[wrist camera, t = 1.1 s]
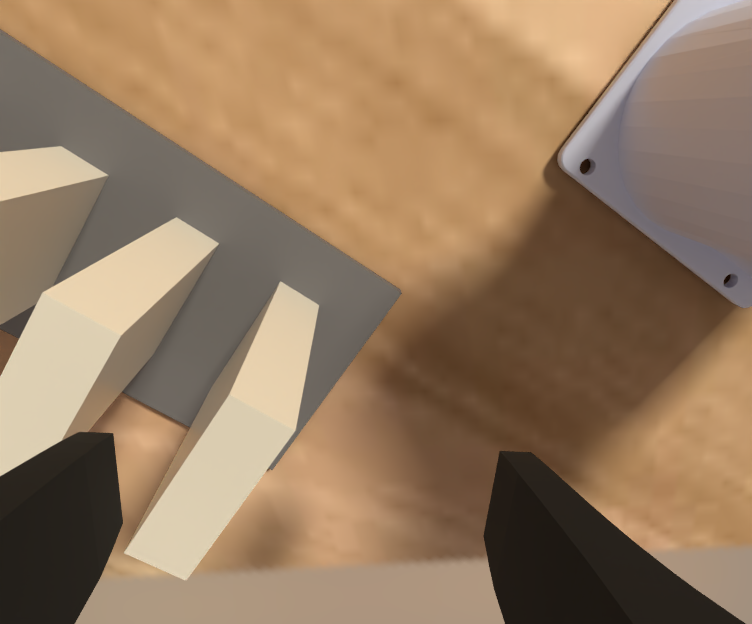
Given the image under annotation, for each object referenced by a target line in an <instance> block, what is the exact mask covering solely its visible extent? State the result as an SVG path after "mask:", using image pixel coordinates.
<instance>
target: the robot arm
mask: <svg viewBox="0 0 752 624" xmlns="http://www.w3.org/2000/svg"><path fill="white" fill-rule="evenodd" d="M585 159H588V160H589V161H590V165H591V167H590V169H589V171H588V172H586V173H585V174H582V173H581V172H580V165H581V163H582V162H583V161H584V160H585ZM557 161H558V165H559V167H560V168H561V169H562V170H563V171H564V172H565V173H567V174H568V175H569V176H571V177H572V178H573V179H574V180H576V181H577V182H578V183H579V184H581V185H582V186H583V187H585V188H586V189H587V190H588V191H590V192H591V193H592V194H594V195H595V196H596V197H597V198H599V199H600V200H601V201H602V202H604V203H605V204H606V205H608V206H609V207H610V208H611V209H613V210H614V211H615V212H617V213H618V214H619V215H620V216H622V217H623V218H624V219H626V220H627V221H628V222H629V223H631V224H632V225H633V226H634V227H636V228H637V229H638V230H640V231H641V232H642V233H643V234H645V235H646V236H647V237H649V238H650V239H651V240H652V241H654V242H655V243H656V244H658V245H659V246H660V247H661V248H663V249H664V250H665V251H666V252H668V253H669V254H670V255H672V256H673V257H674V258H675V259H677V260H678V261H679V262H681V263H682V264H683V265H684V266H686V267H687V268H688V269H689V270H691V271H692V272H693V273H695V274H696V275H697V276H698V277H700V278H701V279H702V280H704V281H705V282H706V283H707V284H709V285H710V286H711V287H713V288H714V289H715V290H716V291H718V292H719V293H720V294H721V295H723V296H724V297H725V298H727V299H728V300H729V301H730V302H732V303H733V304H735V305H737V306H739V307H742V308H748V307H751V306H752V0H674V1H673V3H672V4H671V5H670V7H669V8H668V9H667V10H666V12H665V13H664V14H663V16H662V17H661V18H660V20H659V21H658V22H657V24H656V25H655V26H654V27H653V29H652V30H651V31H650V33H649V34H648V35H647V37H646V38H645V39H644V41H643V42H642V43H641V44H640V46H639V47H638V48H637V50H636V51H635V52H634V54H633V55H632V56H631V58H630V59H629V60H628V61H627V63H626V64H625V65H624V67H623V68H622V69H621V71H620V72H619V73H618V75H617V76H616V77H615V79H614V80H613V81H612V82H611V84H610V85H609V86H608V88H607V89H606V90H605V92H604V93H603V94H602V96H601V97H600V98H599V99H598V101H597V102H596V103H595V105H594V106H593V107H592V109H591V110H590V111H589V113H588V114H587V115H586V116H585V118H584V119H583V120H582V122H581V123H580V124H579V126H578V127H577V128H576V130H575V131H574V132H573V133H572V135H571V136H570V137H569V139H568V140H567V141H566V143H565V144H564V145H563V147H562V148H561V150H560V151H559V153H558V159H557ZM729 274H731V278H730V280H729V282H727V283H726V284H724V279H725V277H726V276H728V275H729ZM122 524H123V519H122V510H121V501H120V492H119V483H118V473H117V464H116V455H115V446H114V436H113V433H95V432H78V433H76V434H74V435H72V436H70V437H68V438H66V439H64V440H62V441H60V442H58V443H57V444H55V445H53V446H51V447H49V448H48V449H46V450H44V451H43V452H41V453H39V454H37V455H36V456H34V457H32V458H31V459H29V460H27V461H25V462H24V463H22V464H20V465H19V466H17V467H15V468H13V469H12V470H10V471H8V472H7V473H5V474H3V475H1V476H0V624H74V623H75V622H76V620H77V618H78V616H79V615H80V613H81V611H82V609H83V608H84V606H85V604H86V602H87V600H88V598H89V597H90V595H91V593H92V592H93V590H94V588H95V586H96V584H97V582H98V581H99V579H100V577H101V575H102V572H103V570H104V568H105V565H106V563H107V561H108V559H109V556H110V554H111V552H112V549H113V547H114V544H115V542H116V539H117V537H118V534H119V532H120V529H121V527H122ZM484 540H485V546H486V551H487V557H488V562H489V567H490V572H491V577H492V581H493V586H494V590H495V593H496V596H497V599H498V603H499V606H500V609H501V612H502V615H503V618H504V621H505V624H745V623H744V622H742V621H741V620H739V619H738V618H736V617H735V616H734V615H732V614H731V613H729V612H728V611H726V610H725V609H724V608H722V607H721V606H719V605H717V604H716V603H715V602H713V601H712V600H710V599H709V598H708V597H706V596H705V595H703V594H702V593H700V592H699V591H698V590H696V589H695V588H693V587H692V586H691V585H689V584H688V583H687V582H685V581H684V580H682V579H681V578H680V577H678V576H677V575H676V574H674V573H673V572H672V571H671V570H669V569H668V568H667V567H665V566H664V565H663V564H661V563H660V562H659V561H658V560H656V559H655V558H654V557H653V556H651V555H650V554H649V553H648V552H646V551H645V550H644V549H642V548H641V547H640V546H639V545H637V544H636V543H635V542H634V541H633V540H631V539H630V538H629V537H628V536H627V535H625V534H624V533H623V532H622V531H621V530H619V529H618V528H617V527H616V526H615V525H613V524H612V523H611V522H610V521H609V520H608V519H606V518H605V517H604V516H603V515H602V514H601V513H599V512H598V511H597V510H596V509H595V508H594V507H593V506H591V505H590V504H589V503H588V502H587V501H586V500H585V499H584V498H582V497H581V496H580V495H579V494H578V493H577V492H576V491H575V490H574V489H572V488H571V487H570V486H569V485H568V484H567V483H566V482H565V481H563V480H562V479H561V478H560V477H559V476H558V475H557V474H556V473H555V472H553V471H552V470H551V469H550V468H549V467H548V466H547V465H546V464H544V463H543V462H542V461H541V460H540V459H539V458H537V457H536V456H535V455H534V454H532V453H531V452H510V451H500V453H499V458H498V463H497V468H496V474H495V479H494V484H493V489H492V494H491V500H490V505H489V510H488V515H487V521H486V526H485V531H484Z"/></svg>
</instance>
